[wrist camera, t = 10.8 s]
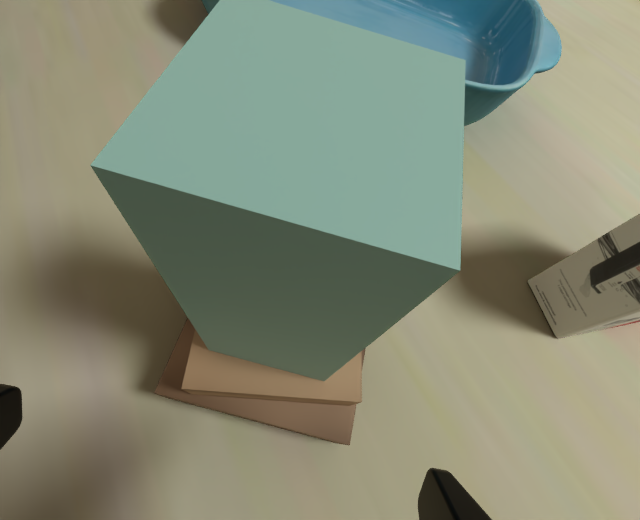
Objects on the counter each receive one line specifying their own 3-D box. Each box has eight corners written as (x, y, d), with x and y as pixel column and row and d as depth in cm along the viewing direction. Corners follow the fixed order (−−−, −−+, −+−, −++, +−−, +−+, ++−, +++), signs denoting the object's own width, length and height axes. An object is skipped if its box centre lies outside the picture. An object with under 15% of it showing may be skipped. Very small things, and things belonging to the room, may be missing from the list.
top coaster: (348, 405, 17) (361, 402, 15) (191, 394, 17) (181, 388, 14) (350, 269, 21) (361, 250, 19) (222, 253, 20) (218, 232, 18)
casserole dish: (150, 35, 33) (124, -59, 27) (257, -44, 44) (256, -124, 37) (499, 183, 31) (559, 119, 25) (521, 62, 42) (567, -4, 35)
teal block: (324, 381, 15) (460, 270, 5) (208, 350, 15) (90, 165, 5) (346, 277, 18) (465, 60, 7) (248, 250, 18) (228, -13, 7)
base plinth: (339, 443, 19) (349, 445, 17) (166, 397, 18) (153, 393, 16) (367, 286, 24) (378, 271, 21) (230, 248, 23) (227, 229, 21)
